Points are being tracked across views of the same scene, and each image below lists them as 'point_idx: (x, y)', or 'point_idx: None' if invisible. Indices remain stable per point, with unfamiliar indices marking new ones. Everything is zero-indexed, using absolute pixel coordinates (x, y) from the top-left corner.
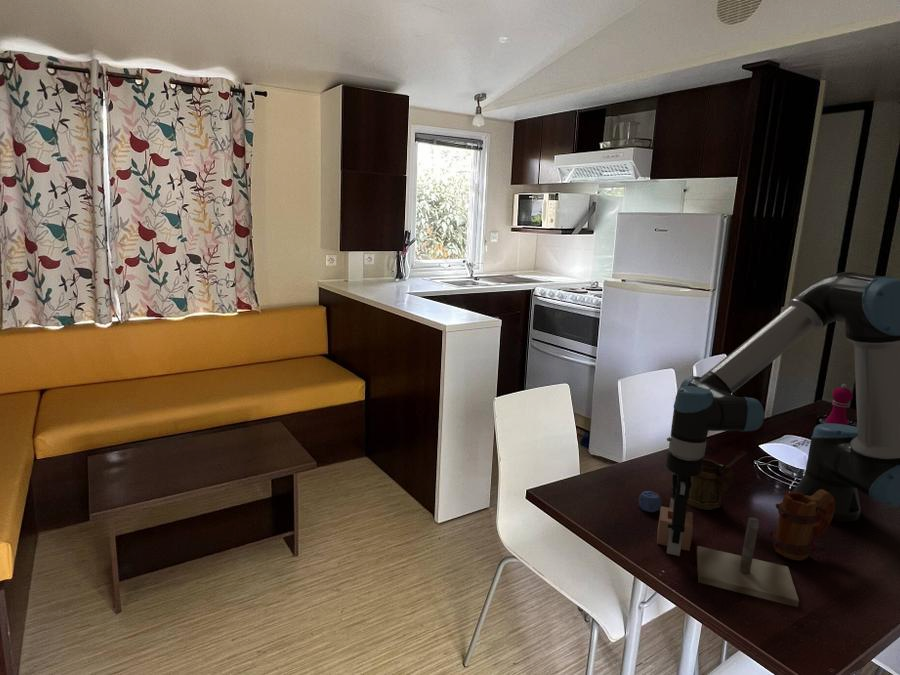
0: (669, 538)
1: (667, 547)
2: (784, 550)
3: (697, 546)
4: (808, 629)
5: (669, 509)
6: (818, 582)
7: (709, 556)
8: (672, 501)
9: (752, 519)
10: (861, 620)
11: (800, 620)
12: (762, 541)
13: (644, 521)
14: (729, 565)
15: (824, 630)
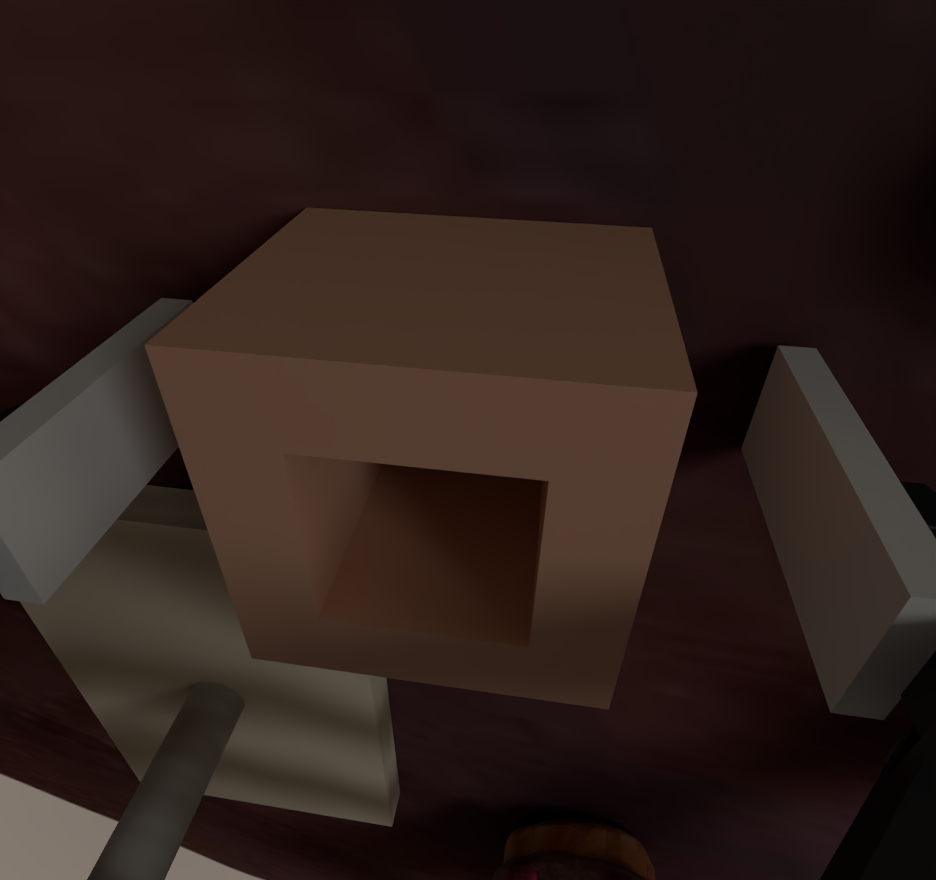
0: (55, 387)
1: (129, 324)
2: (501, 869)
3: None
4: (48, 739)
5: (604, 506)
6: (390, 838)
7: None
8: (883, 590)
9: None
10: (229, 844)
11: (81, 736)
12: (671, 800)
13: (824, 36)
14: (220, 656)
15: (85, 768)
